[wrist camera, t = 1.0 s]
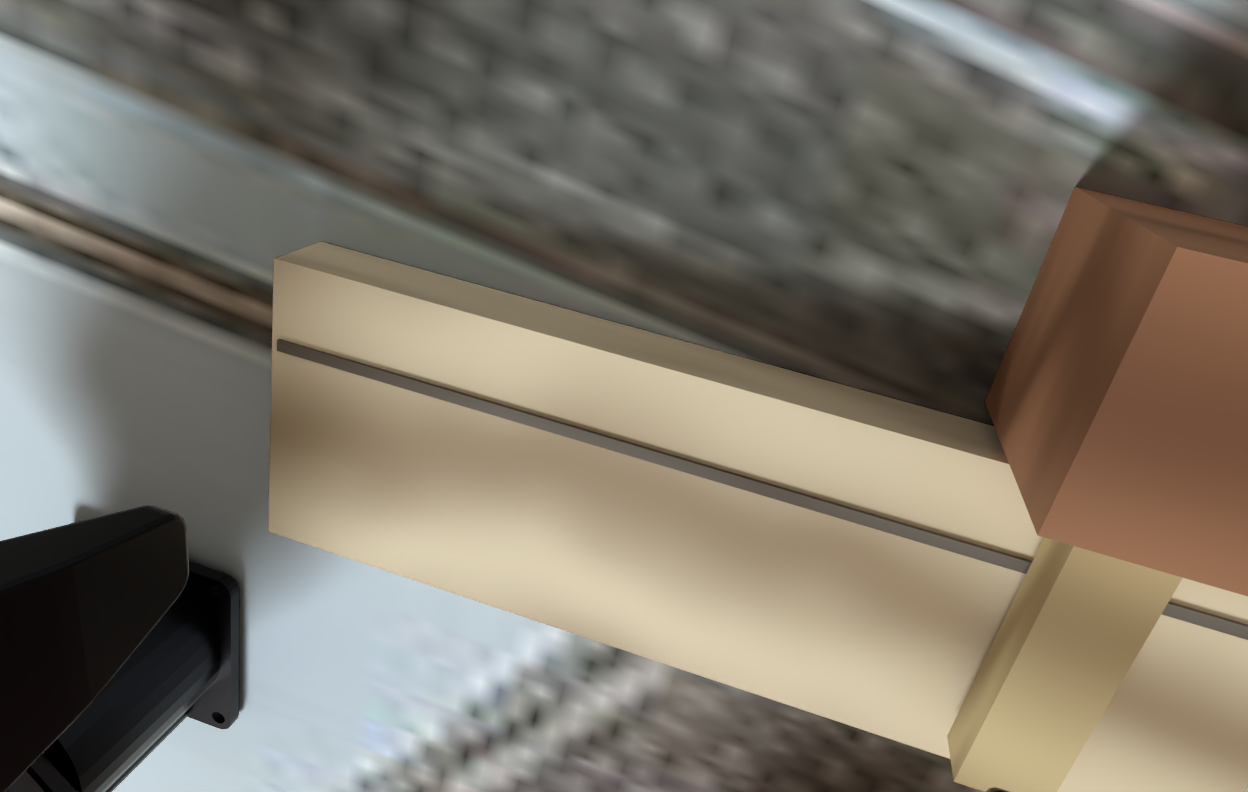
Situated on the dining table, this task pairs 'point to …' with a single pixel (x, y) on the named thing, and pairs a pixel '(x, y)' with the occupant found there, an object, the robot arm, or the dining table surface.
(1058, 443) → the wooden mallet
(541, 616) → the board
